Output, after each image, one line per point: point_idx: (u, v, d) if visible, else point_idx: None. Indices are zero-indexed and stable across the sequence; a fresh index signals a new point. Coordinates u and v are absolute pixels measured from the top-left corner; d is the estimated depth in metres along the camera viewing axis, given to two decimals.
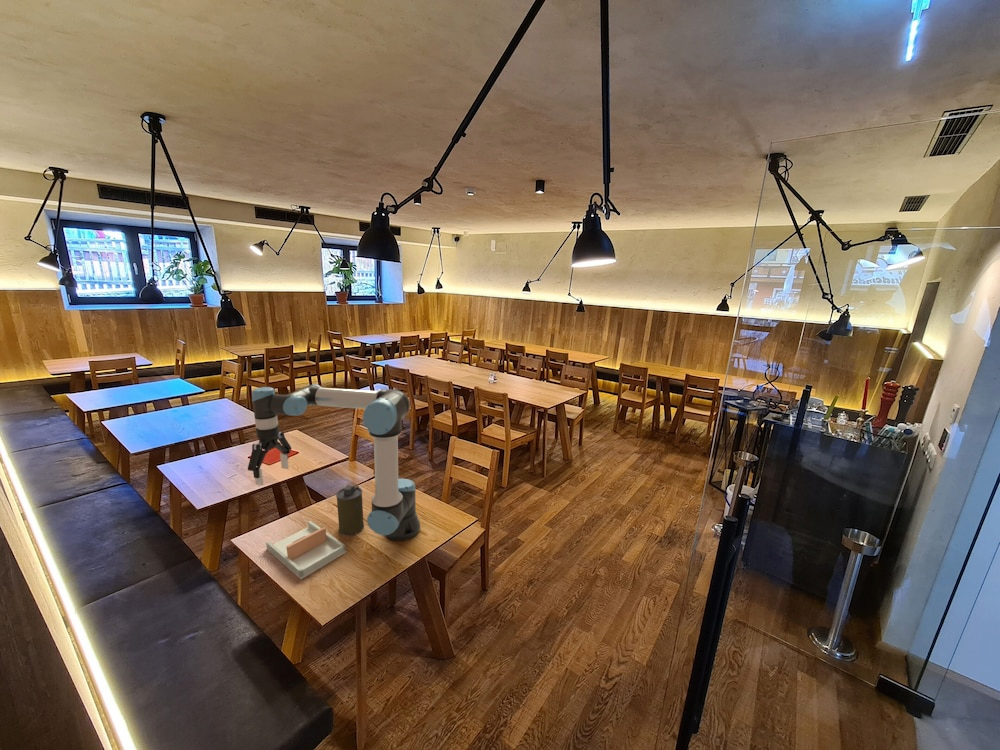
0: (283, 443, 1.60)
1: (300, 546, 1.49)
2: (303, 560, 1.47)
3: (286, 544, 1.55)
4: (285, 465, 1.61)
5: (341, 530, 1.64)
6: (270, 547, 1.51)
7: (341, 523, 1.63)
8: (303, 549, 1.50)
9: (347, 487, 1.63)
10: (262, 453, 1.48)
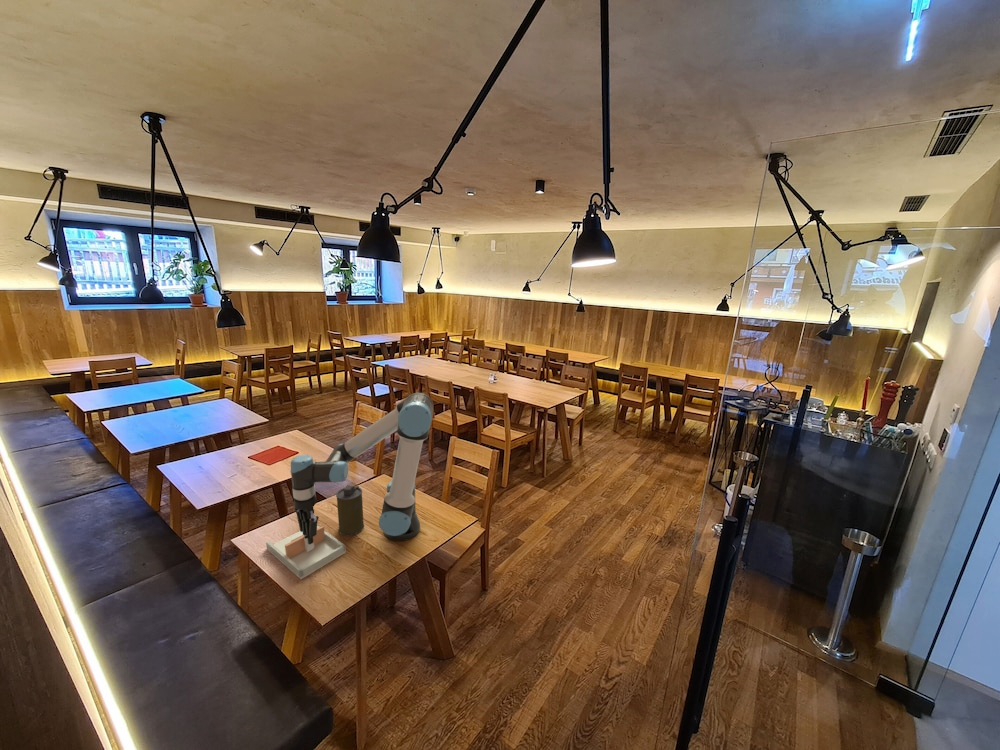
0: None
1: (299, 544, 1.50)
2: (303, 560, 1.47)
3: None
4: None
5: (341, 530, 1.64)
6: (270, 547, 1.51)
7: (341, 523, 1.63)
8: (301, 548, 1.51)
9: (347, 487, 1.63)
10: None
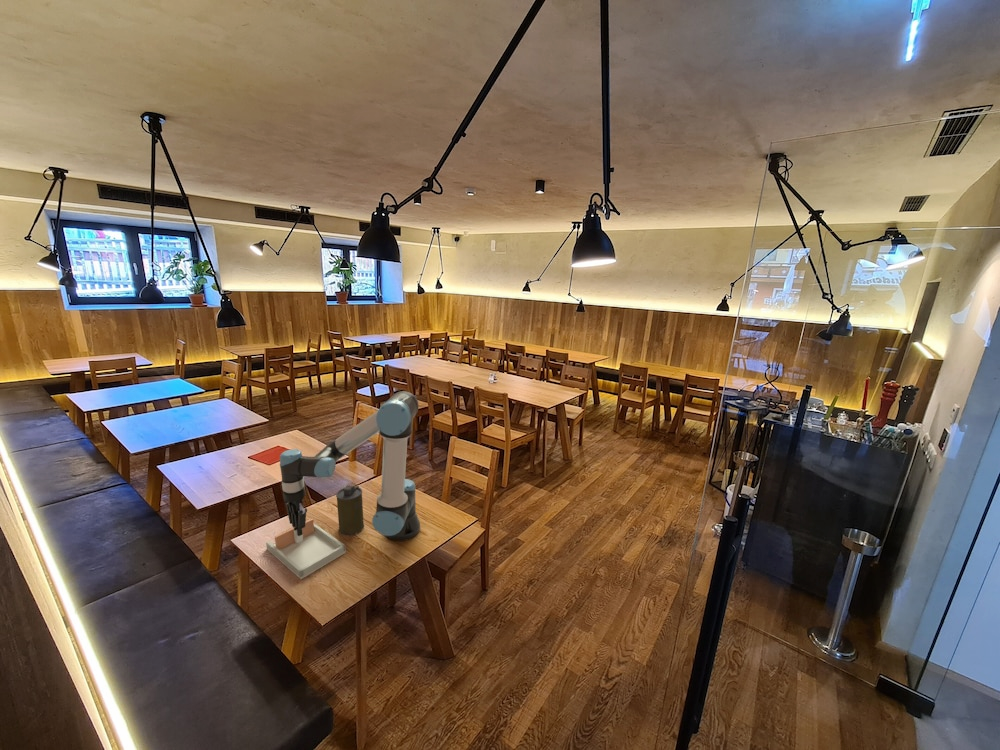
0: None
1: (288, 536, 1.54)
2: (303, 560, 1.47)
3: None
4: None
5: (341, 530, 1.64)
6: (270, 547, 1.51)
7: (341, 523, 1.63)
8: (290, 540, 1.55)
9: (347, 487, 1.63)
10: None
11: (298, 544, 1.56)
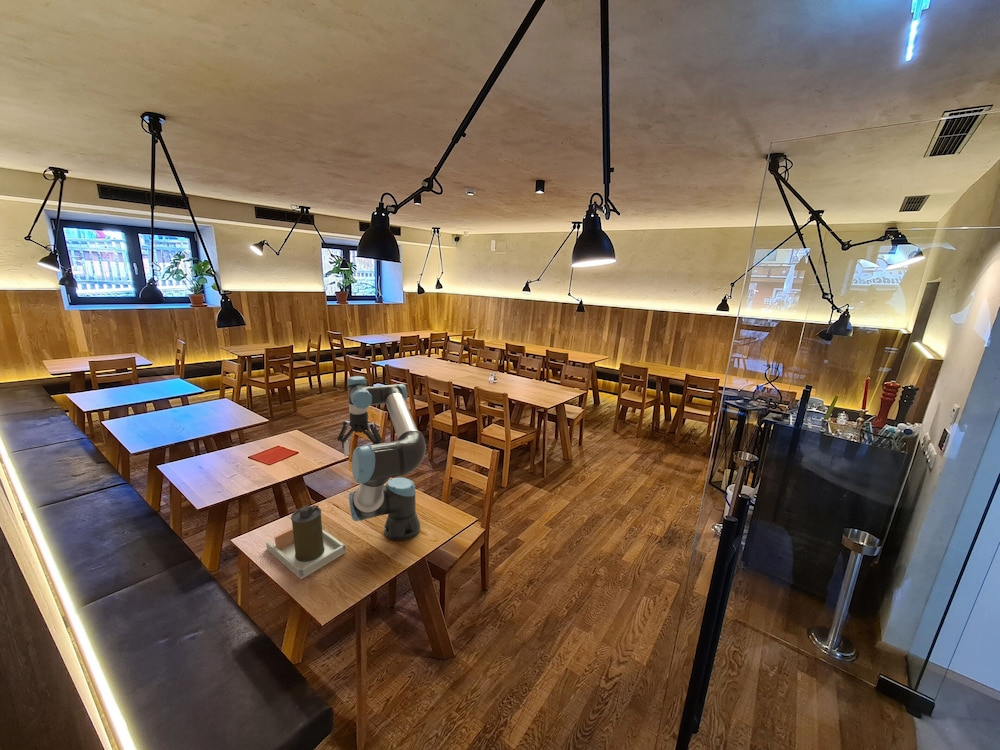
0: None
1: (288, 536, 1.54)
2: None
3: None
4: None
5: (297, 556, 1.47)
6: (270, 547, 1.51)
7: (297, 548, 1.46)
8: (290, 540, 1.55)
9: (303, 508, 1.46)
10: (349, 431, 1.69)
11: None
